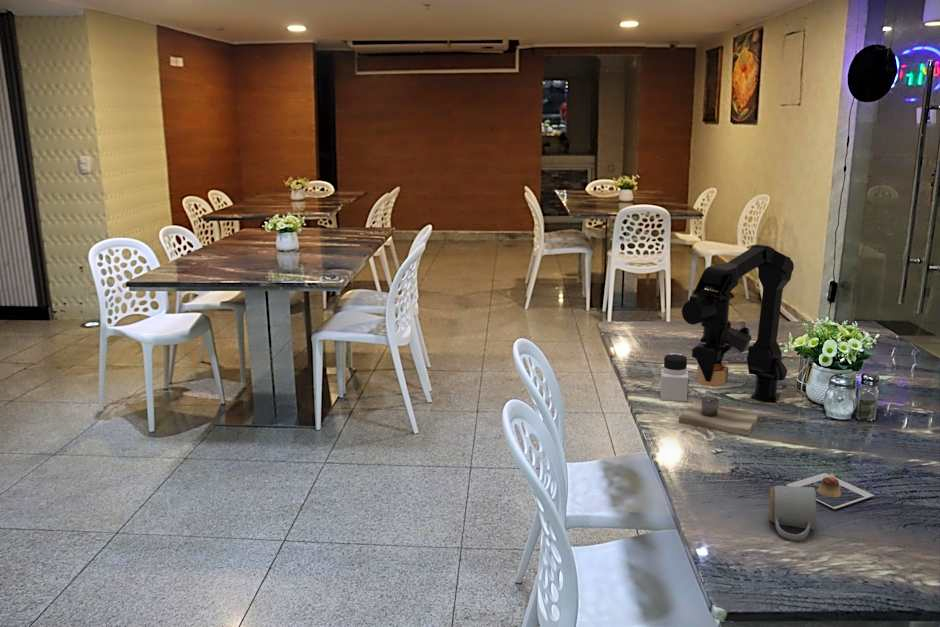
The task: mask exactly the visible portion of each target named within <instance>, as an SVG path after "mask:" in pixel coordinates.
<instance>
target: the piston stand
mask: <svg viewBox="0 0 940 627" xmlns="http://www.w3.org/2000/svg"><path fill="white" fill-rule="evenodd" d="M701 409H702V403H697V402H692V403H691V404H690V405H689V406H688V407H687V408H686V409H685V410H684V411H683V412H682V413H681V415H679V417H678V423H679V424H683V423H684V425H688V424H689V426H695V427H699V426H700V428H705V429H710V430H711V429H712V430H715V431H721V432H726V433H730V432H731V434H736V435H741V434H742V436H746V435H747V436H749V435H750V433H751V432H752V430H753V429H754V427H755V426H756V424H757V423H758V421H759V419H760V418H759V417H760V414H758V413H755V412H748V411H744V410H743V411H742V410H738V409H737V410H736V409H731V408H726V407H721V406H720V407H719V406H718V414H717V416H715V417H708V416H704V415H702V414H701Z"/></svg>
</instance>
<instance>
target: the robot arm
mask: <svg viewBox="0 0 940 627" xmlns="http://www.w3.org/2000/svg"><path fill="white" fill-rule="evenodd" d="M755 269H757V277H758V280H759V281H760V283H761V285H762V294H761V301H760V302H761V305H760V313H759V321H758V329H757V338H756V340H755V342H754V343H753V345H751V346H749V344H750V342H751V340H752V338H753V337H752V334H750V328H748V327H746V326H743V327H741V328H733V327H732V322H731V321H730V320H729V312H730V311H729V310H730V300H731V299H734V298H735V295H734V294H733V292H732V291H733V290H734V289H735V288H736V287H738V285H739V280H740V279H741V278H742V277H743V276H745V275H747V274H749V273H750V272H751V271H753V270H755ZM794 269H795V264H794V262H793V260H792V259H791V257H790V256H787V255H785V254H783V253H781V252H779V251H778V250H775V248H774V247H771V246H770V245H766V244H765V245H764V244H757V243H756V244H752V245H751V246H750V248H749V249H747V250H746V251H744V252H743V253H740V254H739V255H738V256H735V257H734V258H732V259H730V260H729V261H728V262H725V263H717V264H716V263H715V264H713V265H709V266H707V267H706V268H704V271H703V272H702V274H701V276H700V278H699V280H698V283H697V284H696V286H695V288H694V290H693V293H692V294H693V295H690V296H689V301H687V302H685V303H684V304H683V307H682V308H681V316H682V319H683V320H684V321H685V322H686V323H687V324H689V325H691V326H692V325H693V326H694V325H698V324H701V327H702V328H703V332H702V336H701V337H700V343H698V344H697V345H695V347H693V348H692V349H691V358H693V359H696V361H697V363H698V365H699V366H700V368H701V370H702V373H703V375H704V378H705V380H706V381H707V382H710V381H711V378H712V374H713V370H714V366H715V363H719V364H723V360H724V357H725V354H726V353H727V352H729V351H730V350H731V349H732V348H734V349H736V350H737V351H738V352H742V353H743V352H745V350H748V351H747V357H746V363H747V370H748V374H749V375H754V376H755V383H754V384H755V385H754V392H753V393H752V394H751V396H750V398H751V399H753V398H755V400H759V399H760V401H765V400H767V401H766V402H771V401H772V403H776V402H777V401H778V399H779V397H780V395H781V394H780V393H779V392H778V384H779V381H784V380H785V379H786V377H787V375H788V369H787V368H786V365H785V364H784V363H783V361H782V350H781V348H780V346H779V343H778V342H777V341H778V340H777V339H778V331H779V323H780V315H781V309H782V308H781V306H782V299H783V292H784V291H783V290H784V288H785V287H786V286H787V285H788V283H789V282H790V281H791V278H792V274H793V272H794ZM747 348H748V349H747Z"/></svg>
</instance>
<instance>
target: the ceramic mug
mask: <svg viewBox="0 0 940 627" xmlns="http://www.w3.org/2000/svg"><path fill="white" fill-rule="evenodd" d="M816 499H817V493H816V489H815V487H813V486H801V487H794V486H787V485H775V486H771V487H770V489H769V500H768V509H769V510H768V517H769V521H770V522H771V523H774V524H775V529H776V531H777V532H778V534H779V535H780V536H781V537H783V538H785V539H787V540H790V541H801V540H804V539H805V538H807V536H808V535H809V533H810V530H815V528H816V521H817V501H816ZM781 526H788V527H794V528H800V529H805V530H803V531H802V532H800V533H797V534H793V533H789V532H787V531H785V530H783V529H782V528H781Z"/></svg>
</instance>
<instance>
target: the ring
mask: <svg viewBox="0 0 940 627" xmlns="http://www.w3.org/2000/svg"><path fill="white" fill-rule="evenodd" d="M696 370H697V371H696V382H697V383H698V384H700V385H701V386H706V387H707V386H708V387H713V388H714V387H715V388H716V387H723V386H724V387H725V386H726V385H727V383H728V379H729V366H727V365H725V364H724V363H721V364H719V363H715V366H714V370H713V374H712V378H711V381H710V382H707V381H706V380H705V378H704V375H703V373H702V370H701V368H700V366H699V364H698V365H697V369H696Z"/></svg>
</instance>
